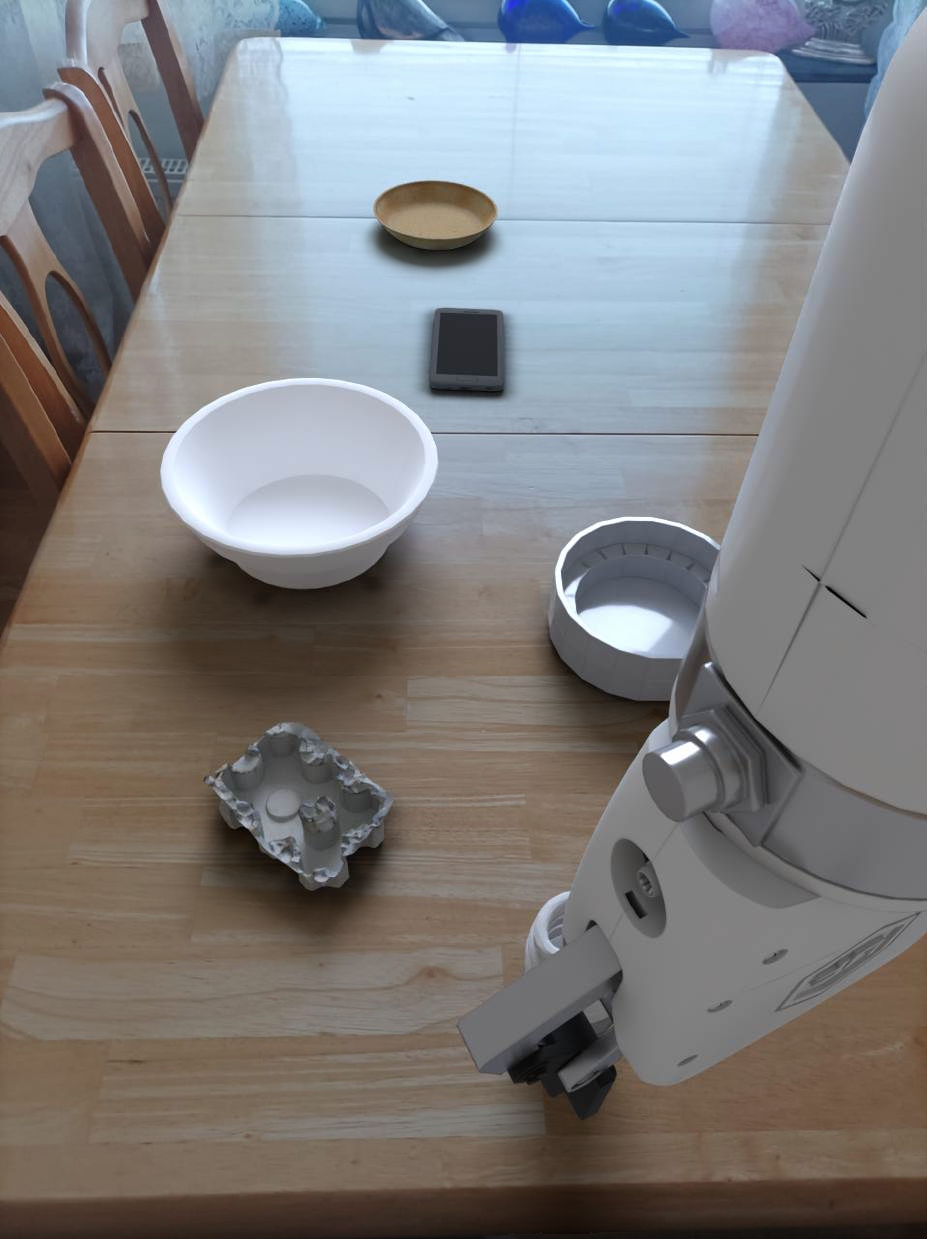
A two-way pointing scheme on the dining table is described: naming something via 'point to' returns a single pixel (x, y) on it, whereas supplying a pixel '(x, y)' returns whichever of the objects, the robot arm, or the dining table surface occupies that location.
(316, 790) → the egg carton
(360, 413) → the bowl
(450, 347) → the cell phone
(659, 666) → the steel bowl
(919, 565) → the robot arm
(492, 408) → the dining table surface
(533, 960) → the light bulb
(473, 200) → the plant saucer
